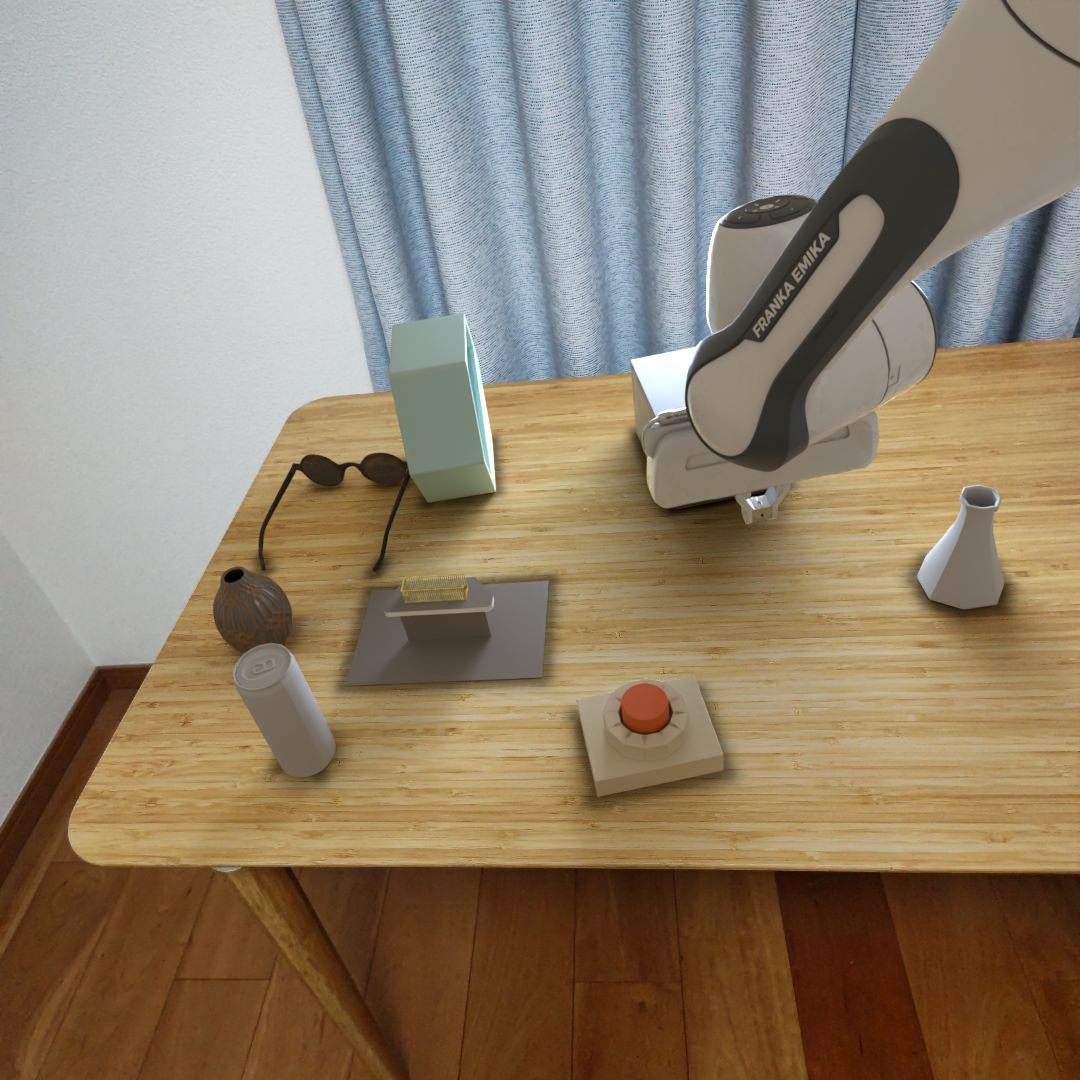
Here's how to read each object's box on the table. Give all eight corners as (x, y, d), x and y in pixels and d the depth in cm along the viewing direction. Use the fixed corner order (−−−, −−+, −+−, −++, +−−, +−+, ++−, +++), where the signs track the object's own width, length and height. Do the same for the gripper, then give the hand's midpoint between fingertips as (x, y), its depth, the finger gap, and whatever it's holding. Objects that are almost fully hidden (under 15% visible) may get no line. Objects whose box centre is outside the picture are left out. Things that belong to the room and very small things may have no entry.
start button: (662, 692, 71) (661, 678, 70) (674, 728, 69) (673, 715, 68) (618, 701, 71) (616, 687, 70) (628, 738, 69) (626, 724, 68)
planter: (501, 506, 104) (478, 443, 84) (435, 516, 104) (397, 456, 84) (483, 374, 109) (457, 284, 89) (419, 384, 109) (379, 297, 89)
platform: (371, 590, 90) (353, 543, 86) (548, 580, 88) (539, 531, 83) (345, 685, 81) (324, 638, 77) (542, 677, 79) (531, 627, 74)
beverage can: (278, 745, 77) (227, 655, 69) (332, 724, 78) (288, 633, 70) (286, 789, 74) (233, 700, 66) (342, 767, 75) (297, 676, 67)
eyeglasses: (419, 482, 102) (409, 446, 99) (384, 573, 92) (372, 537, 88) (301, 484, 105) (287, 449, 102) (253, 573, 95) (236, 538, 91)
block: (695, 691, 76) (693, 660, 73) (723, 770, 70) (723, 740, 67) (578, 715, 75) (573, 685, 73) (597, 797, 69) (592, 768, 67)
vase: (315, 621, 88) (286, 557, 82) (272, 674, 84) (238, 610, 78) (260, 606, 91) (228, 542, 85) (216, 656, 86) (179, 593, 80)
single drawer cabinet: (786, 486, 93) (790, 409, 87) (667, 510, 93) (663, 435, 87) (741, 410, 104) (743, 337, 98) (635, 431, 104) (630, 359, 97)
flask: (918, 608, 79) (936, 523, 72) (914, 551, 84) (930, 467, 77) (1009, 615, 77) (1036, 528, 70) (999, 556, 82) (1023, 471, 75)
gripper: (649, 438, 72) (658, 561, 82) (896, 388, 73) (877, 516, 82) (632, 397, 77) (642, 517, 86) (864, 350, 77) (850, 475, 87)
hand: (759, 516), depth 84 cm, fingers closed
